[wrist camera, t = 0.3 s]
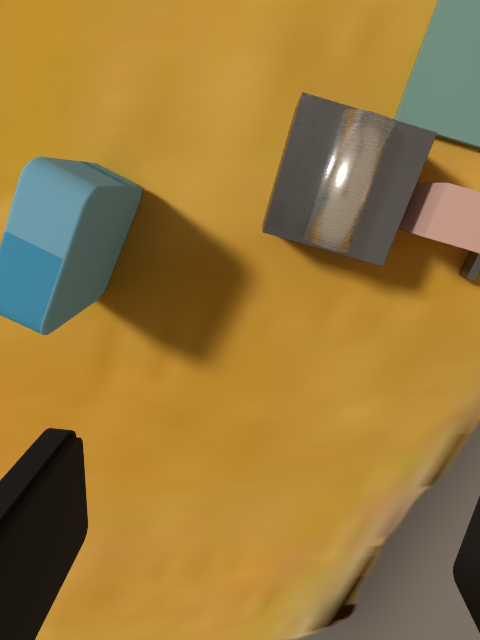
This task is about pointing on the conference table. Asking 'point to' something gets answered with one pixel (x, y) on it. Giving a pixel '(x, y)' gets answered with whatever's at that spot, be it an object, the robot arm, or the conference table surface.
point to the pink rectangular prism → (444, 214)
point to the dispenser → (348, 180)
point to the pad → (447, 75)
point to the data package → (62, 240)
